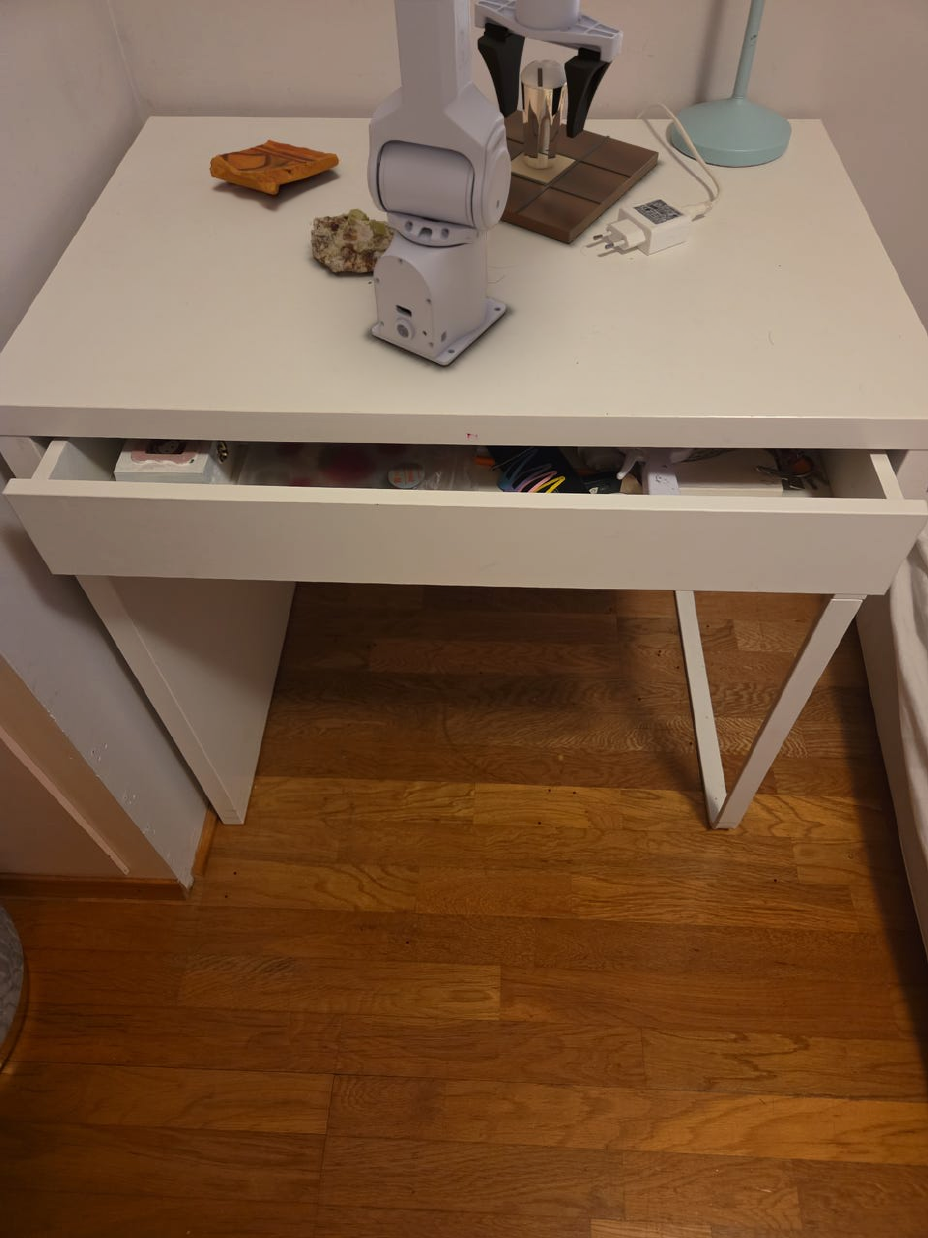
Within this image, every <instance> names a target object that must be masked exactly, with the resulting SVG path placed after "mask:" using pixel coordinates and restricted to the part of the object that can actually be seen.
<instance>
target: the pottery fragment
mask: <svg viewBox="0 0 928 1238" xmlns="http://www.w3.org/2000/svg"><path fill="white" fill-rule="evenodd" d="M339 164H340V159H339V157H338V155H337V153H333V152H332V153H331V152H324V151H319V150H314V149H310V148H308V147H304V146H302V147H301V146H296V145H292V144H290V143H284V142H278V141H274V140H271V139H268V140H267V141H266V142H264V143H262V144H258V145H255V146H252V147H249V148H246V149H241V150H237V151H231V152H228V153H222V154H216V156H214V157H212V158H211V159H210V164H209V165H210V167H209V168H208V169H209V172H210V177H211V178H216V179H218V180H222V181H224V182H228V183H232V184H234V185H238V186H242V187H245V188H248V189H253V190H256V191H259V192H261V193H264V194H269V195H273V196H275V195H276V194H278V193H279V188H280V186H281V185H284V184H288V183H291V182H296V181H299V180H303V179H307V178H309V177H312V176H316V175H319V174H320V173H321V174H322V173H323V172H326V171H328V170H330V169H333V168H335V167H337V166H338V165H339Z"/></svg>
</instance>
